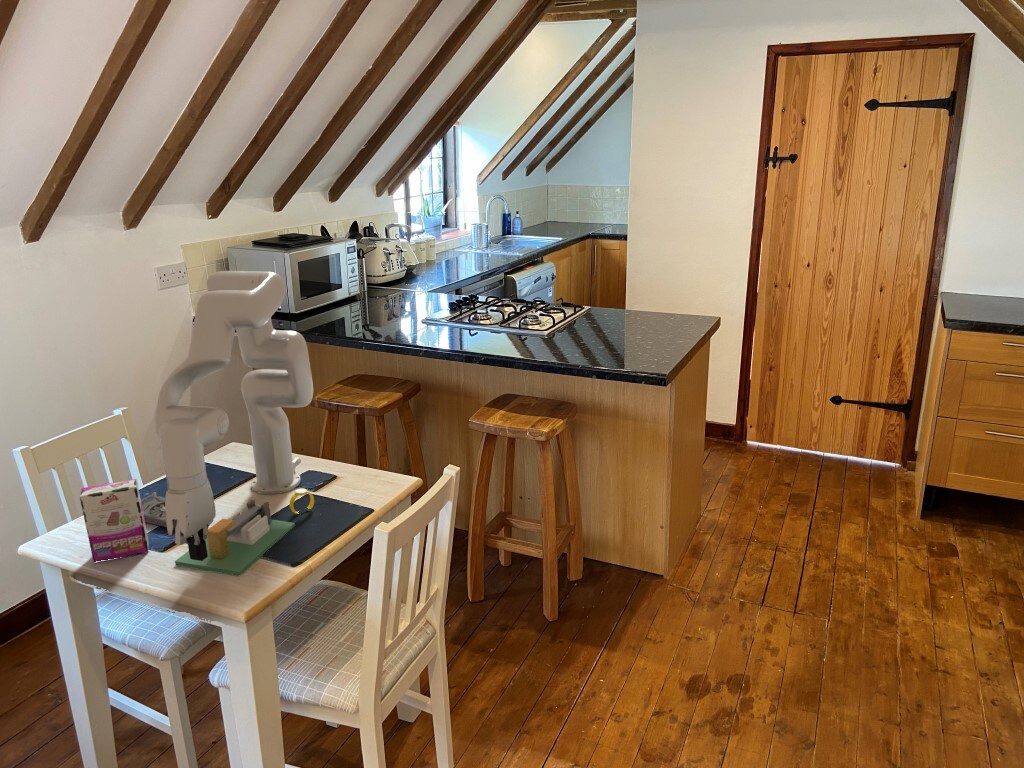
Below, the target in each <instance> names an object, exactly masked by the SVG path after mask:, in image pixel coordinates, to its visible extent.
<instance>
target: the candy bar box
mask: <svg viewBox="0 0 1024 768" xmlns="http://www.w3.org/2000/svg"><path fill="white" fill-rule="evenodd" d="M139 490H140V489H139V485H138V480H137V478H133V479H127V480H122V481H121V480H120V481H116V482H110V483H104V484H98V485H93V486H86V487H82V488H81V491H80V495H79V500H80V505H81V509H82V514H83V518H84V523H85V528H86V532H87V533H86V534H87V537H88V542H89V546H90V552H91V557H92V561H93V563H94V562H96V561H101V560H108V559H114V558H119V559H121V558H120V557H124V558H128V556H129V557H134V556H137V555H142V554H147V553H149V545H150V543H149V542H150V541H149V537H148V531H147V526H146V521H145V520H144V514H143V509H142V502H141V500H142V499H141V495H140V491H139ZM133 555H134V556H133ZM114 560H115V559H114Z"/></svg>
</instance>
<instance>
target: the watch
mask: <svg viewBox="0 0 1024 768" xmlns="http://www.w3.org/2000/svg"><path fill="white" fill-rule="evenodd" d="M307 494H308V495H309V499H310V501H309V504H308V506H307V507H306V508H308V509H311V510H312V509H313V507H314V506H315V505H314V504H315V497H314V495H313V494H312V492H310V491H309V490H308V489H306V488H298V489H295V490H294V494H293V495H292V496H291V497H290V500H289V509H290V510H291V512H292V513H294V514H295V515H297V514H299V513H298V512H299V511H296V510H295V508H294V503H295V501H296V499H297V498H298V497H299V496H300V497H301V496H305V495H307Z"/></svg>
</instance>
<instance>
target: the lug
mask: <svg viewBox="0 0 1024 768" xmlns="http://www.w3.org/2000/svg"><path fill="white" fill-rule="evenodd" d="M233 525H235V522H234V520H229V518H221V519H220V520H219V521H218V522H216V523H215V524H213V525H212V526H210V527H208V530H207V538H208V545H209V551H210V557H212V558H218V559H223V558H224V557H225V556H227V555H228V554H229V550H228V543H227V536H226V531H227V530H228V529H230V528H231V527H232V526H233Z"/></svg>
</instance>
